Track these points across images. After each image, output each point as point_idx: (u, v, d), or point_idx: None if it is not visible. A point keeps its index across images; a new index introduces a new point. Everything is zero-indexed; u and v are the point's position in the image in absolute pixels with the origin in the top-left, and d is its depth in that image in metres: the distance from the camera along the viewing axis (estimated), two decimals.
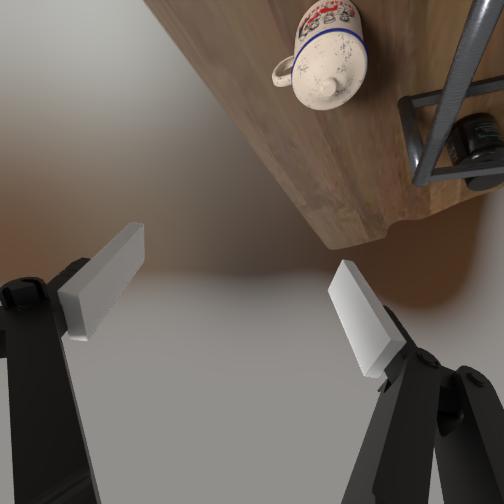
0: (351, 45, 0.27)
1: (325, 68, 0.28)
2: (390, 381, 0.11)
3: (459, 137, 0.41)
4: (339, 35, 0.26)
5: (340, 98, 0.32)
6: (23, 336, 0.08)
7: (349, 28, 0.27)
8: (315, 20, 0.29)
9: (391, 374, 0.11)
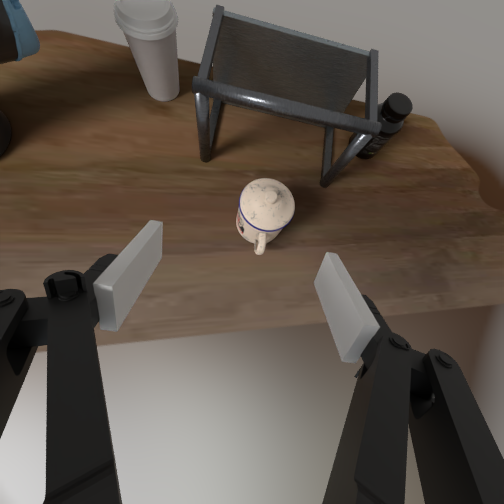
0: (253, 183, 0.38)
1: (258, 197, 0.37)
2: (365, 366, 0.12)
3: None
4: (244, 189, 0.38)
5: (286, 196, 0.38)
6: (62, 324, 0.08)
7: None
8: (238, 214, 0.42)
9: (366, 359, 0.12)
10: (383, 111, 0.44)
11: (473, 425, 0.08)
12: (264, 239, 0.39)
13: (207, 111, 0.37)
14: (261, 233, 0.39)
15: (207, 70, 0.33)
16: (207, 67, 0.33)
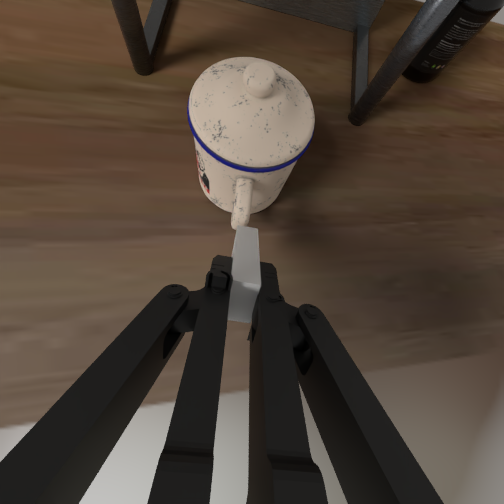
0: (219, 64, 0.17)
1: (228, 85, 0.15)
2: (253, 328, 0.12)
3: (423, 46, 0.29)
4: (199, 77, 0.17)
5: (296, 93, 0.17)
6: (208, 312, 0.10)
7: None
8: None
9: (252, 322, 0.12)
10: None
11: (343, 365, 0.09)
12: (248, 192, 0.17)
13: None
14: (241, 179, 0.17)
15: None
16: None
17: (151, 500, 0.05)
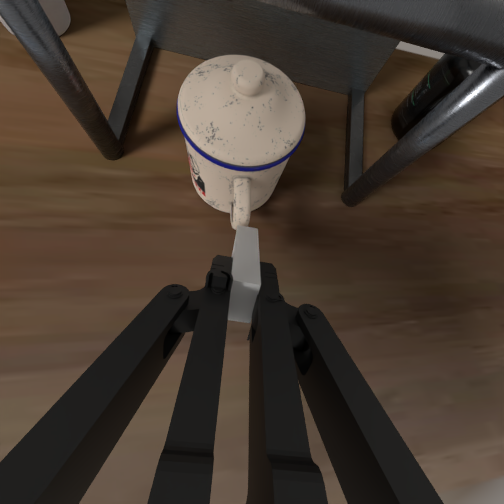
0: (204, 65, 0.17)
1: (216, 86, 0.15)
2: (253, 328, 0.12)
3: None
4: (185, 80, 0.16)
5: (285, 87, 0.17)
6: (208, 312, 0.10)
7: None
8: None
9: (252, 322, 0.12)
10: None
11: (343, 365, 0.09)
12: (246, 191, 0.17)
13: (25, 4, 0.12)
14: (238, 179, 0.17)
15: None
16: None
17: (151, 500, 0.05)
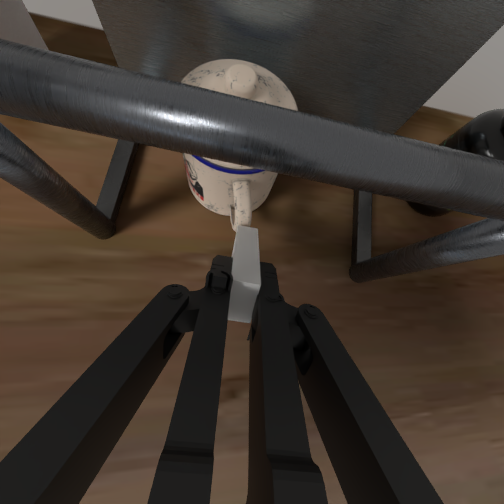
0: (196, 71, 0.17)
1: None
2: (253, 328, 0.12)
3: None
4: None
5: (277, 88, 0.17)
6: (208, 312, 0.10)
7: None
8: None
9: (252, 322, 0.12)
10: None
11: (343, 365, 0.09)
12: (246, 194, 0.17)
13: None
14: (237, 182, 0.17)
15: None
16: None
17: (151, 500, 0.05)
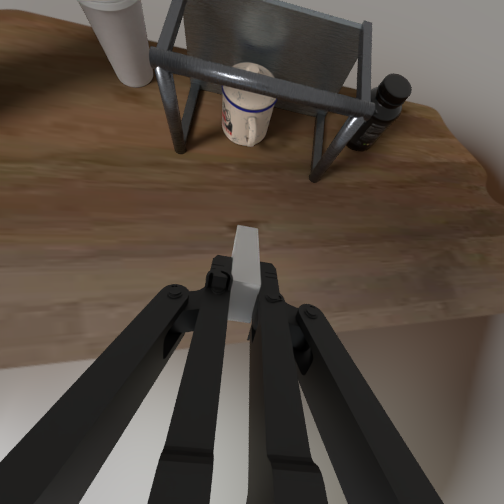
0: None
1: None
2: (253, 328, 0.12)
3: (355, 133, 0.45)
4: None
5: (268, 75, 0.38)
6: (208, 312, 0.10)
7: None
8: (223, 111, 0.41)
9: (252, 322, 0.12)
10: (379, 95, 0.39)
11: (343, 365, 0.09)
12: (254, 123, 0.38)
13: (172, 91, 0.31)
14: (250, 118, 0.38)
15: (168, 40, 0.28)
16: (168, 37, 0.28)
17: (151, 500, 0.05)
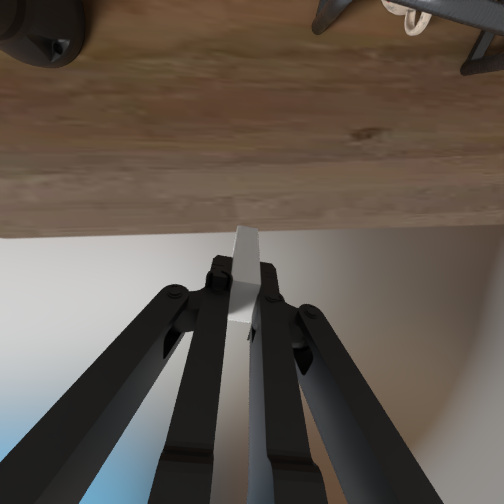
0: None
1: None
2: (253, 328, 0.12)
3: None
4: None
5: None
6: (208, 312, 0.10)
7: None
8: None
9: (252, 322, 0.12)
10: None
11: (343, 365, 0.09)
12: None
13: None
14: None
15: None
16: None
17: (151, 500, 0.05)
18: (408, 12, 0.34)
